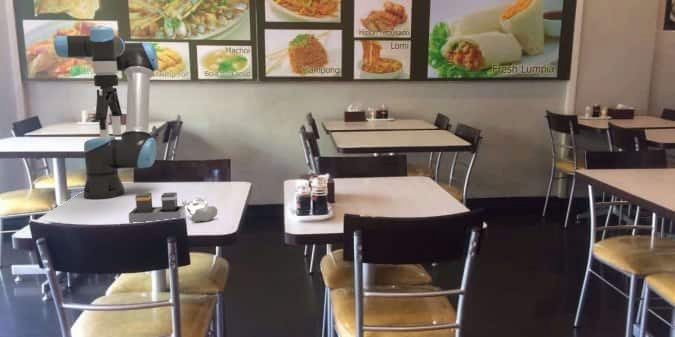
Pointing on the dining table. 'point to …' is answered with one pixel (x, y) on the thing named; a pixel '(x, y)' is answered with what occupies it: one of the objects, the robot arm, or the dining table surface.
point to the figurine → (200, 211)
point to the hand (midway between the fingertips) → (111, 137)
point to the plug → (144, 202)
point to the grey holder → (160, 210)
